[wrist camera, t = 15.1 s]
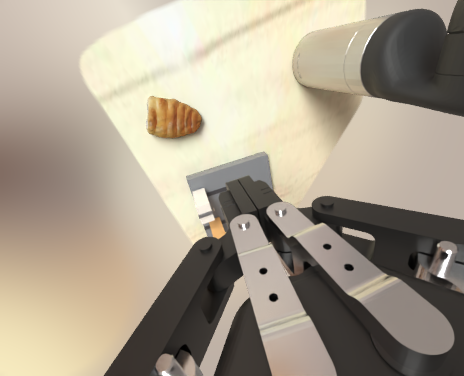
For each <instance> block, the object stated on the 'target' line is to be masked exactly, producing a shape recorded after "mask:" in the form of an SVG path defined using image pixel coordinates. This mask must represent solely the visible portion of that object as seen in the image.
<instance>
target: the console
mask: <svg viewBox="0 0 464 376" xmlns="http://www.w3.org/2000/svg"><path fill="white" fill-rule="evenodd" d="M247 175H249V176H250V177H251V178H252V180H253V181H254V182H255V181H257V180H261V181H263V182H266V183H267V184H268V185H269V187H270V188H271V189H272V190H273V187H272V181H271V174H270V168H269V161H268V155H267V154H266V153H265V152H261V153H258V154H254V155H251V156H248V157H245V158H242V159H239V160H236V161H233V162H229V163H226V164H223V165H220V166H217V167H214V168H211V169H208V170H204V171H201V172H198V173H195V174H192V175H189V176H186V178H187V182H188V184H189V187H190V190H191V193H192V192H193V191H196V190H199V189H202V188H204V189H205V192H206V195H207V198H208V201H209V204H210V207H211V210H212V212H213V216H214V218H217V217H220V220H221V223H222V225H223V228H224V231H225V232H227V231H228V229H229V228H228V226H227V224H226V221H225V219H224V216H223V212H222V209H221V206H220V202H219V199H218V198H219V194H220V193H222V192H225V191H227V188H226V184H225V183H226V182H229V181H232V180H235V179H238V178H241V177H244V176H247ZM192 195H193V193H192ZM193 198H194V197H193ZM203 225H204V228H205V231H206V233H207V236H208V237H213V234H212V231H211V228H210V224H209V222H208V223H205V224H203Z"/></svg>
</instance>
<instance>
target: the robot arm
mask: <svg viewBox="0 0 464 376" xmlns="http://www.w3.org/2000/svg"><path fill="white" fill-rule="evenodd" d="M447 33H449V34H447ZM293 72H294V75H295V77H296V79H297V80H298V82H300V83H301V84H302V85H304V86H306V87H311V88H318V89H323V90H330V91H336V92H343V93H349V94H355V95H363V96H369V97H376V98H382V99H386V100H390V101H394V102H399V103H405V104H410V105H415V106H419V107H424V108H428V109H432V110H436V111H440V112H444V113H449V114H453V115H458V116H463V117H464V0H458V1H457V3H456V6H455V8H454V11H453V13H452V17H451V20H450V23H449V26H448V30H447V31H446V27H445V24H444V22H443V20H442V19H441V18H440V16H439V15H438V14H436V13H435V12H433V11H431V10H426V9H415V10H409V11H404V12H400V13H395V14H391V15H386V16H382V17H378V18H373V19H369V20H364V21H359V22H355V23H350V24H345V25H341V26H336V27H332V28H327V29H322V30H318V31H314V32H311V33H309V34H307V35H306V36H305V37H304V38H303V39H302V40H301V41H300V42H299V44H298V46H297V47H296V50H295V52H294V56H293ZM225 184H226V188H227V191H225V192H222V193H220V194H219V198H218V199H219V202H220V206H221V209H222V212H223V216H224V219H225V221H226V224H227V226H228V228H229V229H228V231H227V232H226V234H225V235H224V236H222V237H221V238H219V239H217V238H215V237H205V238H202V239H200V240H198V241H197V242H196V243H195V244H194V245H193V247H192V248H191V249H190V251H189V252H188V254H187V255H186V257H185V258H184V260H183V261H182V263H181V264H180V265H179V267H178V268H177V270H176V271H175V273H174V274H173V276H172V277H171V279H170V280H169V281H168V283H167V284H166V286H165V287H164V289H163V290H162V292H161V293H160V295H159V296H158V298H157V299H156V300H155V302H154V303H153V305H152V306H151V308H150V309H149V311H148V312H147V313H146V315H145V316H144V318H143V319H142V321H141V322H140V324H139V325H138V327H137V328H136V329H135V331H134V332H133V334H132V335H131V337H130V338H129V340H128V341H127V343H126V344H125V346H124V347H123V349H122V350H121V352H120V353H119V354H118V356H117V357H116V359H115V360H114V362H113V363H112V364H111V366H110V367H109V369H108V370H107V372H106V373H105V375H104V376H203V374H202V372H201V370H200V369H199V367H200V364H201V362H202V360H203V358H204V355H205V353H206V351H207V348H208V346H209V344H210V341H211V339H212V337H213V334H214V332H215V330H216V327H217V325H218V323H219V320H220V318H221V316H222V314H223V311H224V309H225V306H226V304H227V302H228V300H229V297H230V295H231V292H232V290H233V287H234V282H235V281H236V280H237V279H239V278H240V277H242V276H243V275H244V278H245V282H246V285H247V289H248V292H249V295H250V298H248V299H247V300H246V301H245V302H244V303H243V304H242V306H241V307H240V308H239V310H238V311H237V313H236V315H235V317H234V320H233V322H232V325H231V328H230V331H229V333H228V337H227V339H226V342H225V345H224V348H223V351H222V354H221V356H220V359H219V362H218V365H217V368H216V371H215V374H214V376H464V220H460V219H455V218H450V217H444V216H438V215H432V214H427V213H422V212H416V211H409V210H405V209H399V208H393V207H388V206H382V205H376V204H371V203H365V202H359V201H354V200H348V199H342V198H337V197H331V196H323V197H319V198H317V199H315V200H314V201H313V202H312V207H308V208H295V207H294V206H293V205H292V204H290V203H287V202H283V201H282V200H281V199H280V198H279V197H278V196H277V195H276V193H275V192H274V191H273V190H272V189H271V188H270V187H269V185H268V184H267V183H266V182H263V181H261V180H257V181H255V182H254V181H253V180H252V178H251V177H250V176H249V175H247V176H244V177H241V178H238V179H235V180H232V181H229V182H226V183H225ZM342 227H346V228H350V229H354V230H358V231H362V232H366V233H369V234H371V235H372V236H373V237H374V238H375V241H371V240H367V239H363V238H359V237H355V236H352V235H348V234H344V233H342ZM269 242H271V244H269ZM283 266H284V267H283ZM284 268H285V269H286V270H287V272H288V273H289V274H290V276H289V277H288V276H287V274H286V272H285V269H284Z"/></svg>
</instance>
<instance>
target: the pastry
mask: <svg viewBox="0 0 464 376" xmlns="http://www.w3.org/2000/svg"><path fill="white" fill-rule="evenodd" d="M147 110H148V118H147V121H146V128H147V131H148V133H149V134H153V135H156V136H158V137H163V138H168V137H170V138H175V137H181V136H185V135H187V134H191V133H194V132H196V131H197V130H198V129H199V127H200V124H201V120H202V117H201V116H200V114H199V113H198V111H197V110H196V109H194V108H191V107H190V106H188V105H187V104H184V103H181V102H179V101H177V100H176V99H164V98H157V97H154V96H150V97H149V98H148V102H147Z"/></svg>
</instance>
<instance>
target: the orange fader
mask: <svg viewBox="0 0 464 376" xmlns="http://www.w3.org/2000/svg"><path fill="white" fill-rule="evenodd" d="M214 219H215V220H214V221H211V222H209V224H210V228H211V231H212V234H213V237H215V238H217V239H219V238H221V237H222V236H224V235H225V234H226V233H225V231H224V228H223V225H222V223H221V220H220V217H217V218H214Z"/></svg>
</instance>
